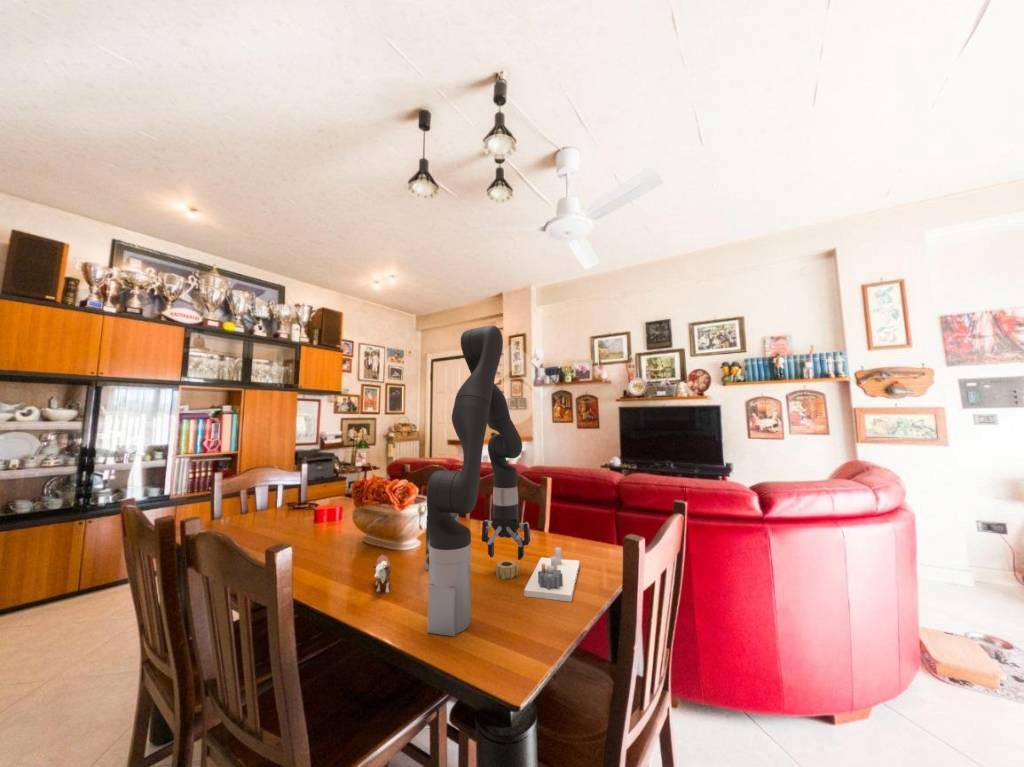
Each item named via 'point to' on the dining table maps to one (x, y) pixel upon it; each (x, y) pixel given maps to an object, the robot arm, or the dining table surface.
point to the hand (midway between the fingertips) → (505, 557)
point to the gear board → (554, 593)
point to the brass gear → (506, 569)
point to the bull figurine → (382, 572)
